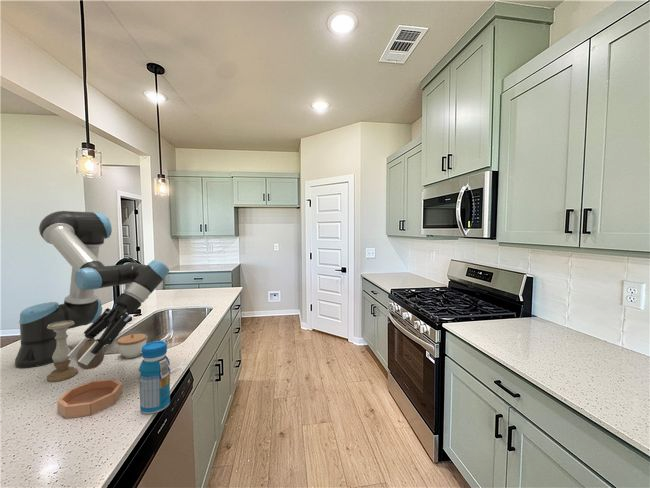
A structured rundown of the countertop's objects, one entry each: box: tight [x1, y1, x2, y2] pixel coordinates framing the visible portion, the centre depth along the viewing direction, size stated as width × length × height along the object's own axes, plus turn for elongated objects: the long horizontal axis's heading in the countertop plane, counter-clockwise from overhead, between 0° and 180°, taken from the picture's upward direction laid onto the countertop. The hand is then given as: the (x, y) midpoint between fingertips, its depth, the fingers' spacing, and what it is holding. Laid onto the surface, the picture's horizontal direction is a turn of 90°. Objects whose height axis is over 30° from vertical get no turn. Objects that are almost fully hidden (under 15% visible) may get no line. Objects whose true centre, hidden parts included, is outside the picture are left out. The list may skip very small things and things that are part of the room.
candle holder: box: [46, 321, 79, 383], centre depth 107 cm, size 9×9×20 cm
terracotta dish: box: [56, 378, 123, 419], centre depth 91 cm, size 15×15×4 cm
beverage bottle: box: [138, 340, 171, 415], centre depth 89 cm, size 8×8×20 cm
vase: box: [76, 338, 105, 370], centre depth 91 cm, size 7×7×9 cm
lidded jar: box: [116, 333, 147, 359], centre depth 126 cm, size 11×11×9 cm
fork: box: [170, 358, 191, 374], centre depth 110 cm, size 3×20×2 cm, turn 162°
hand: (77, 360), depth 88 cm, fingers closed on vase, 7 cm apart
